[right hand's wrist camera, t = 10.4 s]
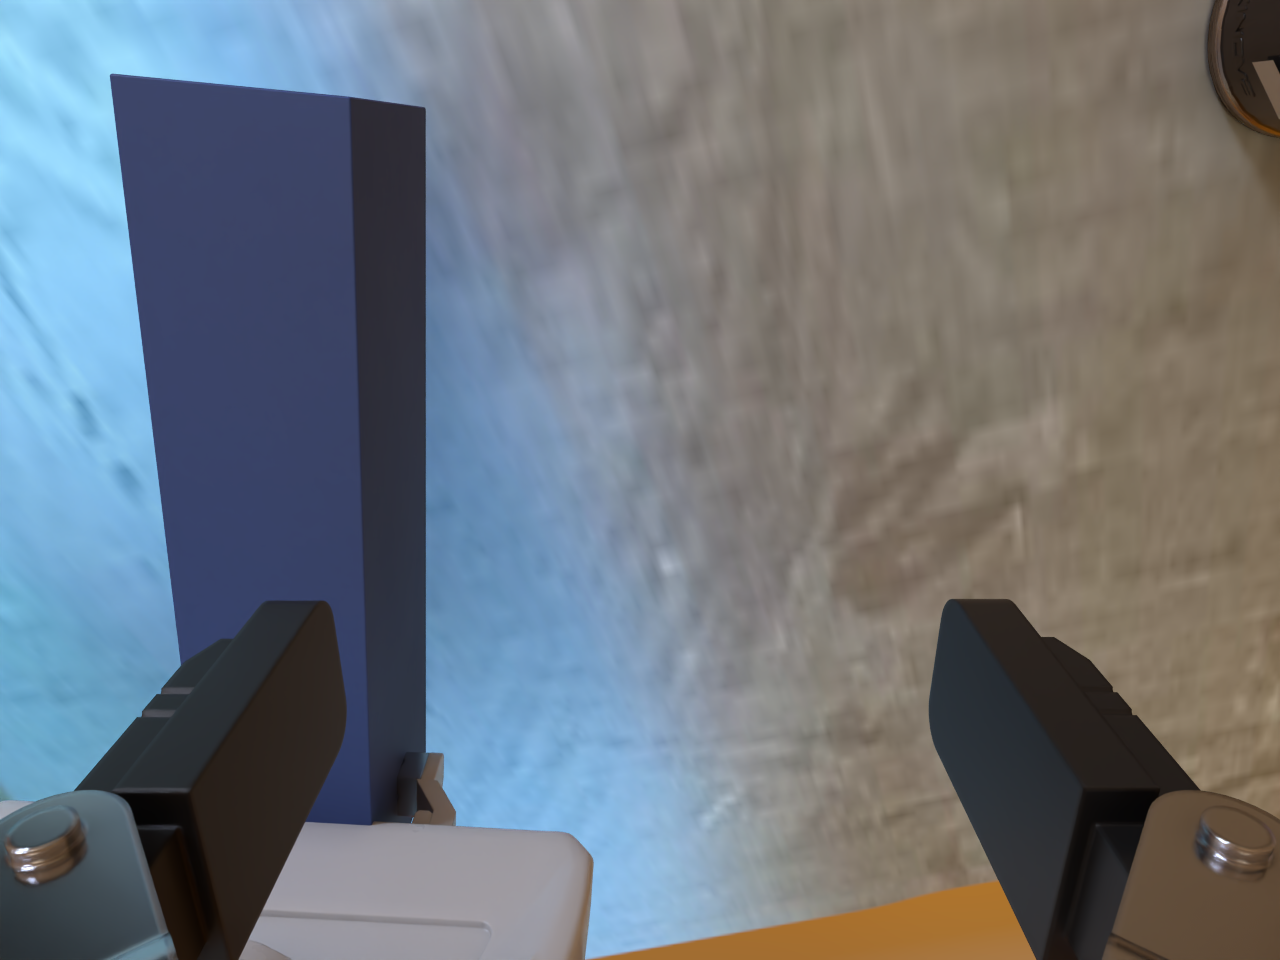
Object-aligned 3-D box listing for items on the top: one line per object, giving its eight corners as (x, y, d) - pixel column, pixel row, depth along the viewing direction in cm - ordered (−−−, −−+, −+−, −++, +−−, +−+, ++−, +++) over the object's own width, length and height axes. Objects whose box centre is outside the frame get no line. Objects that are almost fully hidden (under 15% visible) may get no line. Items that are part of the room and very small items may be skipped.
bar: (251, 90, 28) (108, 73, 20) (425, 107, 28) (350, 97, 20) (297, 768, 38) (212, 931, 30) (426, 775, 38) (375, 940, 30)
